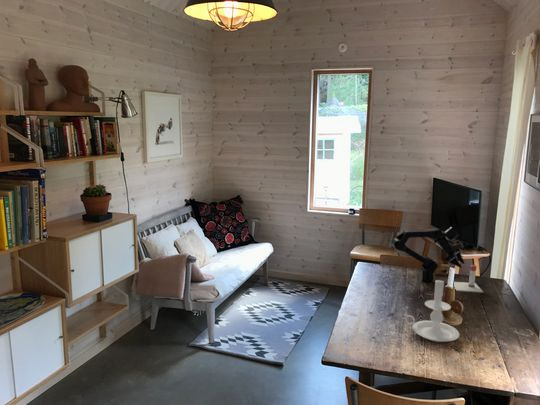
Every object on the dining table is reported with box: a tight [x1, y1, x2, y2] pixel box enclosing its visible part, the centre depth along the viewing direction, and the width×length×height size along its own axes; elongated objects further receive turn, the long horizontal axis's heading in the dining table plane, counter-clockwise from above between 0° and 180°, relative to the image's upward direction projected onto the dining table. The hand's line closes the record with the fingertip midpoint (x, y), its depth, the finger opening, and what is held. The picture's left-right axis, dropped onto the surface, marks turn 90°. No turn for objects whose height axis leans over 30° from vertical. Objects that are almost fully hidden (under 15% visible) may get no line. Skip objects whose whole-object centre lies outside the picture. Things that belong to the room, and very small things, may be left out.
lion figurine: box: [433, 259, 451, 275], centre depth 289 cm, size 15×5×9 cm, turn 73°
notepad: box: [453, 281, 485, 294], centre depth 266 cm, size 17×15×1 cm
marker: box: [468, 264, 477, 287], centre depth 265 cm, size 4×4×13 cm
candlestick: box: [403, 279, 460, 343], centre depth 202 cm, size 21×25×28 cm
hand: (462, 265), depth 268 cm, fingers open, 9 cm apart
